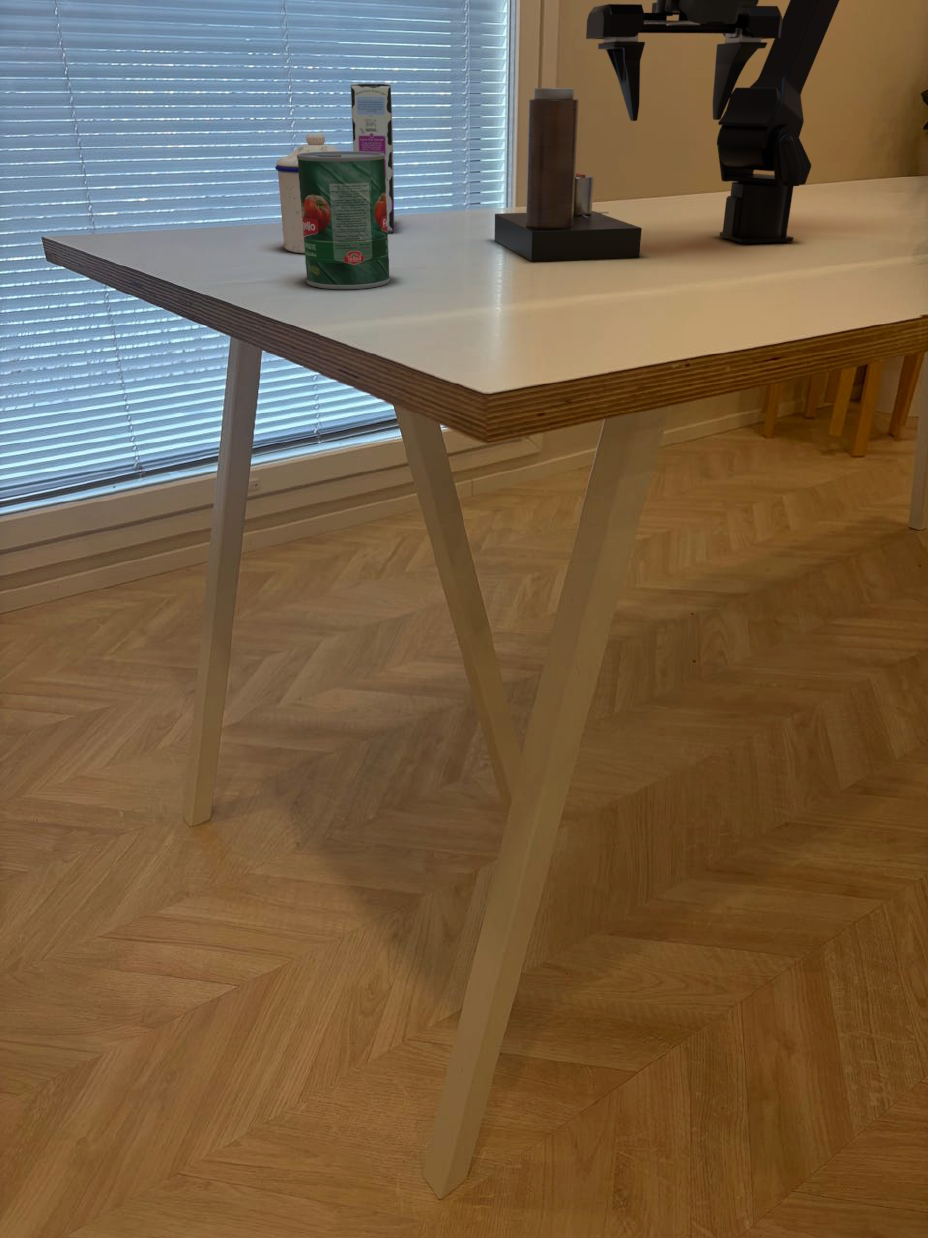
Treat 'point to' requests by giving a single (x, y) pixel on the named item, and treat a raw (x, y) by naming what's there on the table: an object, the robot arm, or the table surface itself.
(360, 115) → the candy bar box
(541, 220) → the salt mill
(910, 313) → the table surface
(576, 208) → the knob
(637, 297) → the table surface
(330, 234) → the canned tomato
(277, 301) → the table surface
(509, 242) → the stove
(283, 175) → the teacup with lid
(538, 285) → the table surface
